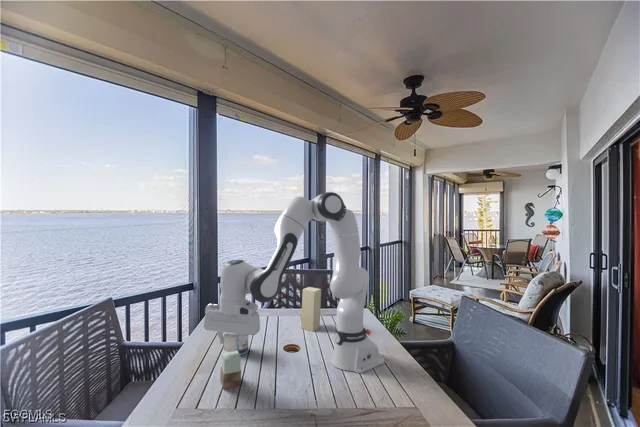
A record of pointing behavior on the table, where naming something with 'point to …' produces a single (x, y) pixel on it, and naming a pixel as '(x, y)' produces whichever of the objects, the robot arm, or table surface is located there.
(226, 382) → the tower base
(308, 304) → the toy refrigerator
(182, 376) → the table surface
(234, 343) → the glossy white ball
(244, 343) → the beverage bottle
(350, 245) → the robot arm
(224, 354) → the tower top
